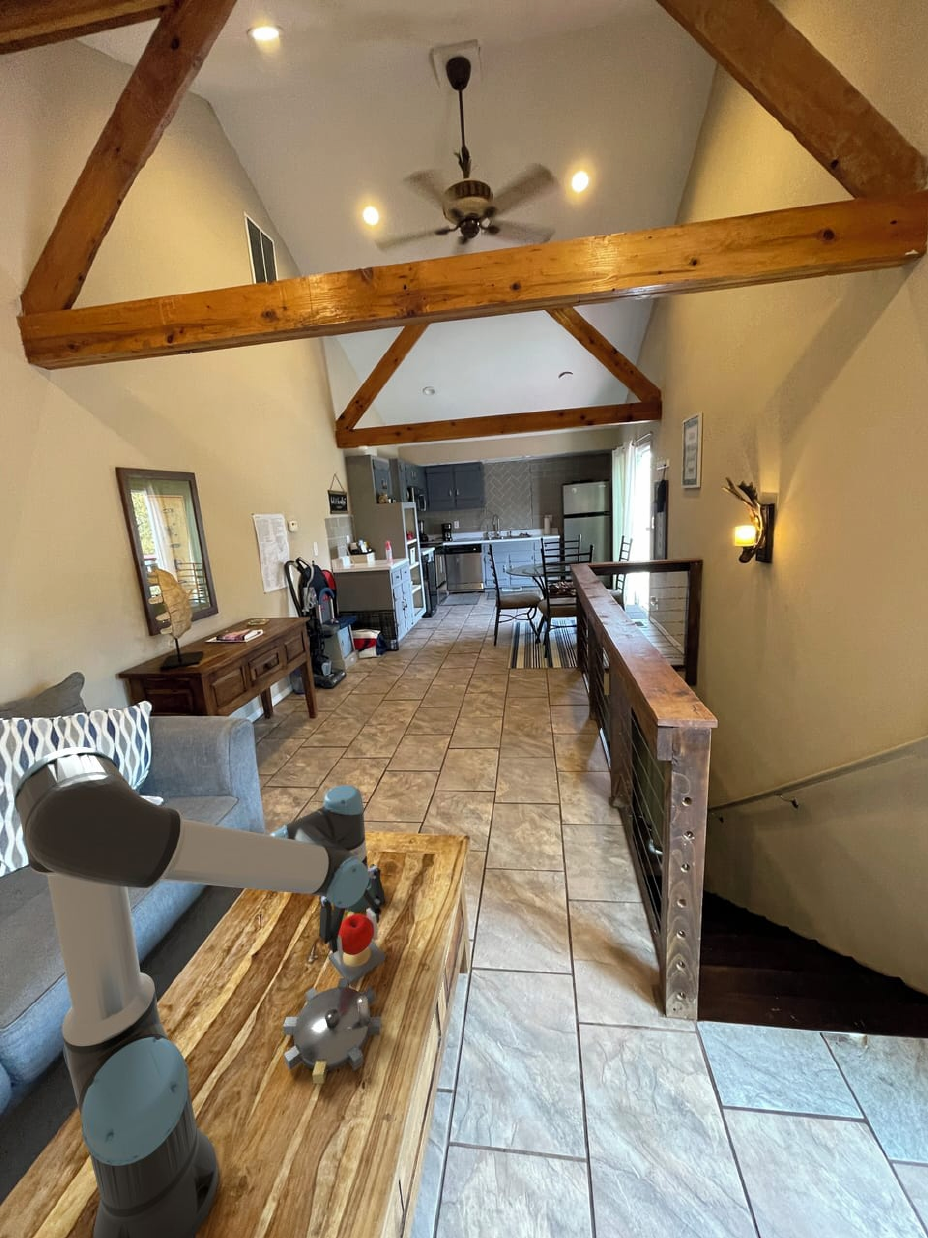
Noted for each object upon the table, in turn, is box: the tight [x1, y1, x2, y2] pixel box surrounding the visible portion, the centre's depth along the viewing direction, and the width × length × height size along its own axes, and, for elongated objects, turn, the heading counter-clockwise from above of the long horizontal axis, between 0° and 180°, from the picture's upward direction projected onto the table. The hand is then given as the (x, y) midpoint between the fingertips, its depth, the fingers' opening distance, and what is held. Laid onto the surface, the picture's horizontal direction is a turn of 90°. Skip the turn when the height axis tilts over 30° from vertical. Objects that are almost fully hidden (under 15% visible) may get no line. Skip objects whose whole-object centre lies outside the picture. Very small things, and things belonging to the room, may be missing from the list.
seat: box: [327, 940, 387, 986], centre depth 111 cm, size 9×9×1 cm
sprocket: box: [282, 977, 382, 1085], centre depth 94 cm, size 18×18×7 cm
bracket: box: [345, 877, 376, 913], centre depth 128 cm, size 9×9×9 cm
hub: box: [325, 1009, 339, 1027], centre depth 95 cm, size 6×6×4 cm
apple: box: [339, 913, 374, 955], centre depth 110 cm, size 8×8×7 cm
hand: (356, 948), depth 111 cm, fingers closed on apple, 8 cm apart
